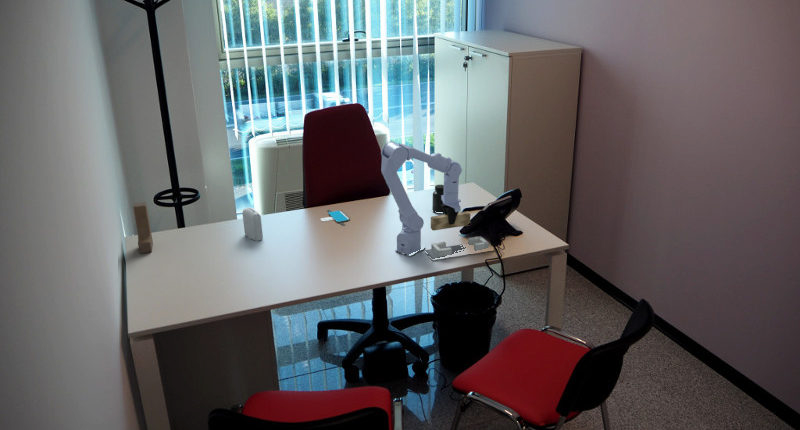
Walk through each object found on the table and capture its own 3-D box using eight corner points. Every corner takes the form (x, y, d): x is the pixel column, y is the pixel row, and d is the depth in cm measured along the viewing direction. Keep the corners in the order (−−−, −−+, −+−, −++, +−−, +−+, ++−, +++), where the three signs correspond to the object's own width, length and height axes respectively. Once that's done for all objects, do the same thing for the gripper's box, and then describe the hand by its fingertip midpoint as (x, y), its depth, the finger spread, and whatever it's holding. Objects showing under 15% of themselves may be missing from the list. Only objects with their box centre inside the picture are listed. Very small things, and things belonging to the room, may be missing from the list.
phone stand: (314, 213, 288) (314, 210, 287) (339, 209, 292) (339, 206, 292) (329, 229, 271) (329, 226, 270) (355, 224, 276) (355, 221, 275)
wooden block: (151, 252, 250) (144, 209, 243) (139, 254, 249) (131, 211, 242) (153, 243, 258) (146, 201, 251) (141, 244, 257) (134, 203, 250)
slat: (432, 230, 251) (433, 218, 249) (430, 228, 253) (430, 216, 251) (470, 224, 255) (470, 213, 254) (467, 222, 258) (467, 211, 256)
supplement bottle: (447, 214, 284) (448, 188, 280) (432, 214, 285) (432, 188, 280) (447, 208, 291) (447, 183, 286) (432, 208, 291) (432, 183, 287)
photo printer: (243, 234, 266) (240, 206, 261) (252, 231, 268) (249, 204, 264) (255, 242, 258) (252, 213, 254) (264, 239, 261) (261, 211, 256)
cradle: (432, 261, 241) (432, 252, 239) (424, 252, 248) (424, 244, 246) (494, 250, 248) (495, 242, 247) (485, 242, 255) (485, 234, 254)
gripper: (468, 195, 243) (467, 227, 248) (452, 183, 256) (452, 214, 261) (451, 197, 241) (450, 230, 246) (436, 185, 254) (436, 217, 259)
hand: (450, 222), depth 253 cm, fingers closed on slat, 2 cm apart
